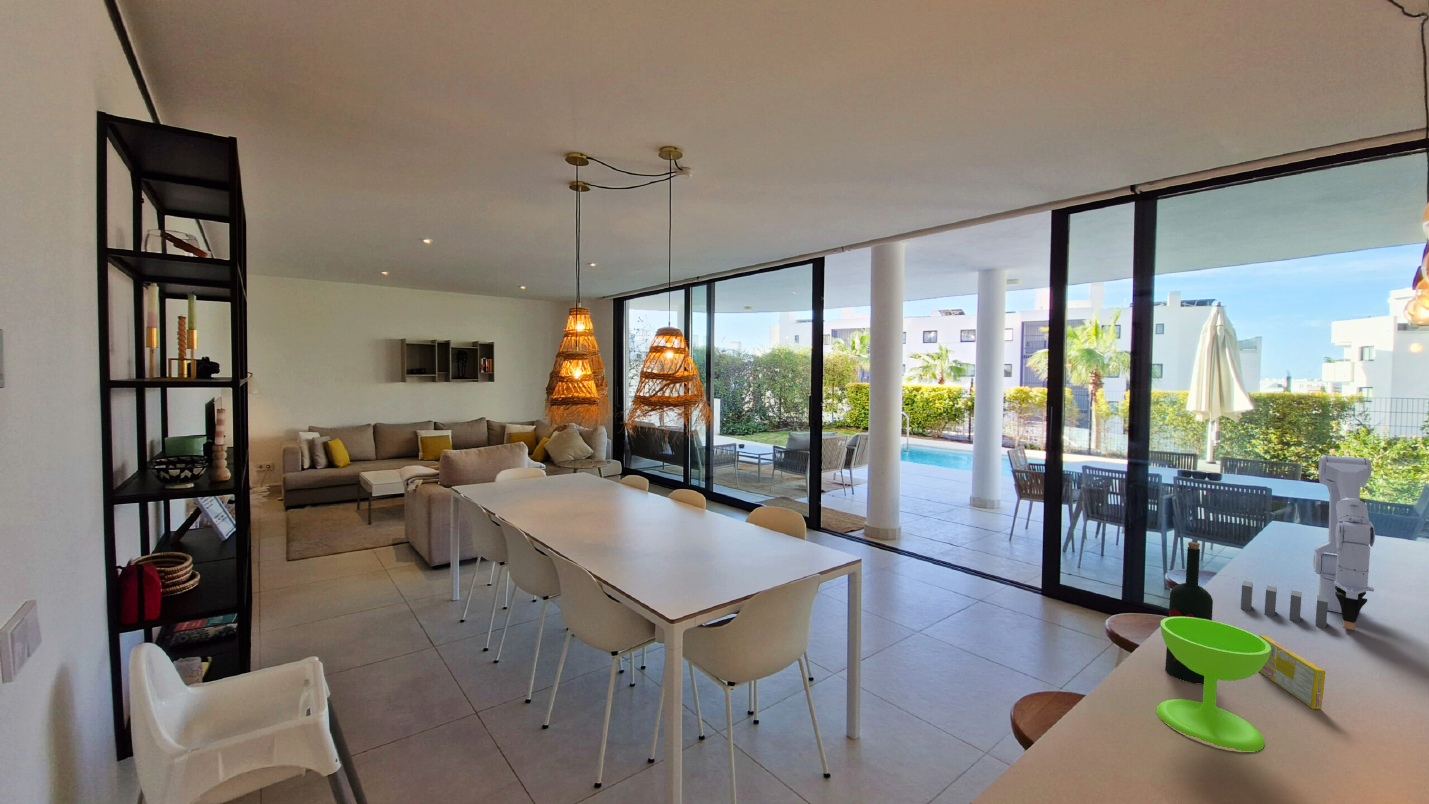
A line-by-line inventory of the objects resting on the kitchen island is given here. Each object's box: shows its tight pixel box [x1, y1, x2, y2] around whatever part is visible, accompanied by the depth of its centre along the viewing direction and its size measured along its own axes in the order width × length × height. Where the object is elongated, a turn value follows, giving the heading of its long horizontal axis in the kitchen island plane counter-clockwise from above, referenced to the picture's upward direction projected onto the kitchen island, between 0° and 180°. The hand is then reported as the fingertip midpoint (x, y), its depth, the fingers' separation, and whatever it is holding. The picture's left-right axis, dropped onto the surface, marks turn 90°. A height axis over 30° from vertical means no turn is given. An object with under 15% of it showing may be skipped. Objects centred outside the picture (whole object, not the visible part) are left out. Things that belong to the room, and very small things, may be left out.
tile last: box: [1240, 580, 1254, 612], centre depth 168 cm, size 5×2×7 cm, turn 134°
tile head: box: [1342, 619, 1356, 631], centre depth 154 cm, size 5×2×7 cm, turn 134°
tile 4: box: [1264, 584, 1278, 617], centre depth 165 cm, size 5×2×7 cm, turn 134°
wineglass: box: [1155, 616, 1271, 752], centre depth 111 cm, size 16×16×18 cm
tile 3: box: [1289, 589, 1303, 623], centre depth 161 cm, size 5×2×7 cm, turn 134°
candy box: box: [1258, 634, 1326, 710], centre depth 125 cm, size 16×2×8 cm, turn 168°
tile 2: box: [1315, 594, 1329, 628], centre depth 158 cm, size 5×2×7 cm, turn 134°
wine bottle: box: [1164, 541, 1214, 685], centre depth 129 cm, size 8×10×30 cm
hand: (1348, 618), depth 154 cm, fingers closed on tile head, 5 cm apart
